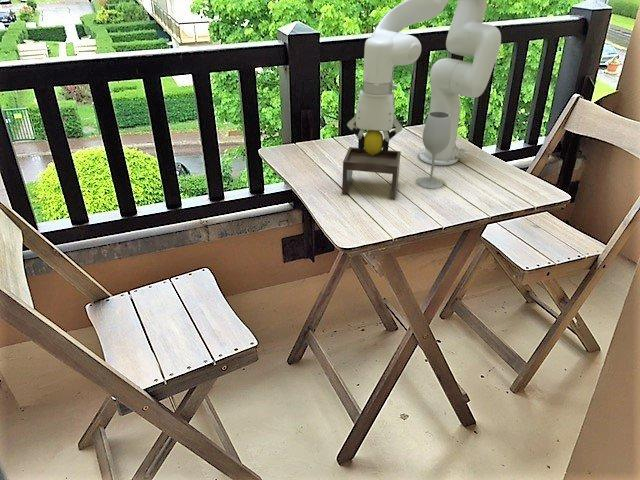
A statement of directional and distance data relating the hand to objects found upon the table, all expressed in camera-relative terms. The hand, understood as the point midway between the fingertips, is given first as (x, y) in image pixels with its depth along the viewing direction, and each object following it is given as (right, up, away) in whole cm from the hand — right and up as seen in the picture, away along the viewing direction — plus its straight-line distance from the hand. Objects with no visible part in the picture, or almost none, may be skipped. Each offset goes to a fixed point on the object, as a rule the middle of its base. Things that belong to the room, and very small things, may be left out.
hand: (373, 151), depth 148 cm
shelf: (0, -10, +6) cm, 12 cm away
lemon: (0, -1, +1) cm, 2 cm away
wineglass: (+18, -8, +9) cm, 22 cm away
